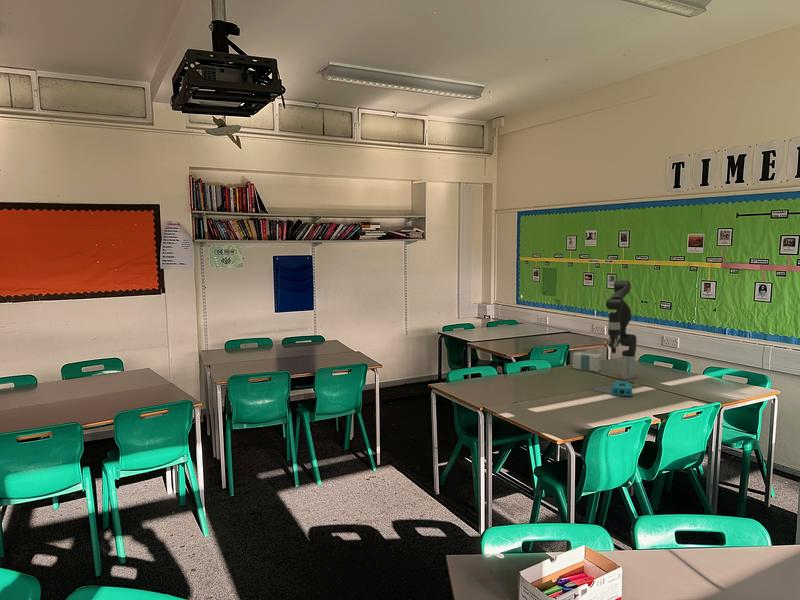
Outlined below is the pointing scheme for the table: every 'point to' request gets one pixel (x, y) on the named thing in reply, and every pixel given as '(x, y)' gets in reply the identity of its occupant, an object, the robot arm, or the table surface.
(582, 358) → the stereo radio cassette player
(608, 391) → the mat
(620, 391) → the block
